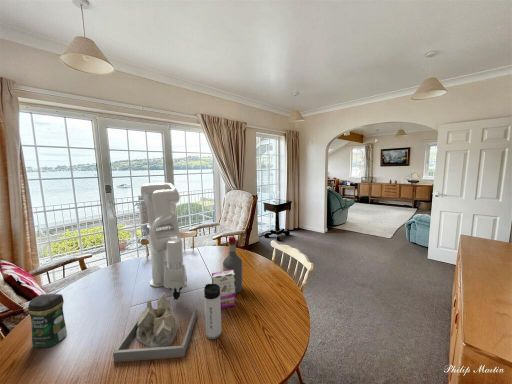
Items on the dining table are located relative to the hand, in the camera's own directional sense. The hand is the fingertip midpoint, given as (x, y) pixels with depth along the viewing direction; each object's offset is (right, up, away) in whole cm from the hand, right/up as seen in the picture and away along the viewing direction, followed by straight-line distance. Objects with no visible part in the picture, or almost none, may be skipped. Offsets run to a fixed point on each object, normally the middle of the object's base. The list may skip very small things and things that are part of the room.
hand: (176, 298), depth 104 cm
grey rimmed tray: (+2, -4, -21) cm, 22 cm away
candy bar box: (+25, -2, -2) cm, 25 cm away
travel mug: (+23, -4, -21) cm, 31 cm away
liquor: (+28, -1, +11) cm, 30 cm away
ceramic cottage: (0, -4, -20) cm, 21 cm away
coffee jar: (-41, -5, -23) cm, 47 cm away
